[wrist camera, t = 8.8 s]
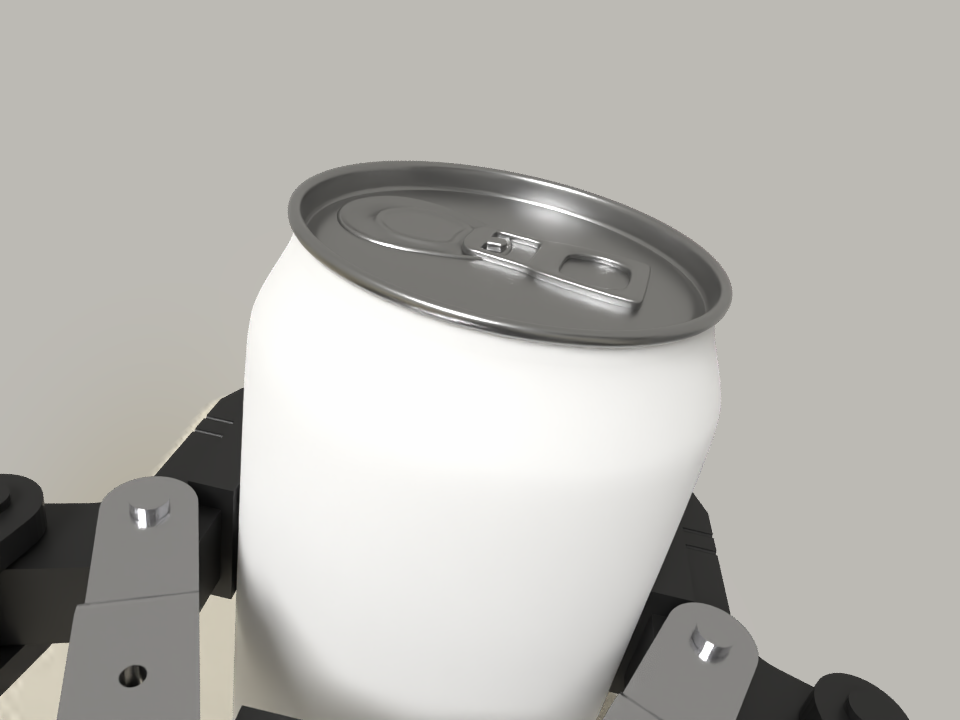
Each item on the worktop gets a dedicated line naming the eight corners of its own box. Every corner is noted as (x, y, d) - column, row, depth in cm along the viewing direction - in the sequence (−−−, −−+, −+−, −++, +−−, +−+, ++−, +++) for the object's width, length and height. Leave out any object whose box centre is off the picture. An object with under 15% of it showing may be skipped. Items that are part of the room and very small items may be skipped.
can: (326, 606, 18) (383, 128, 13) (571, 702, 17) (757, 227, 11) (154, 869, 13) (115, 228, 7) (502, 1034, 12) (794, 439, 6)
